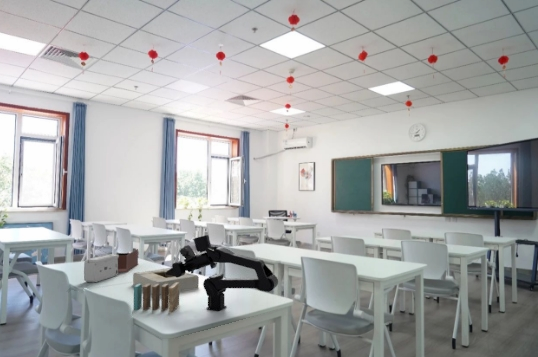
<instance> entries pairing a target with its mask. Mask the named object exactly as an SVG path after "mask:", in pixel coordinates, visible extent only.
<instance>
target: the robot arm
mask: <svg viewBox="0 0 538 357" xmlns="http://www.w3.org/2000/svg"><path fill="white" fill-rule="evenodd" d="M193 243H194V246H195V249H196V252H197V253H199V254H196V253H195V251H194V250H193V248H192V247H191V246H190V245H188V244H187V245H184V246H183V247H182V248H180V250H179V253H180V255H181V256H182V257H184V258H183V261H184V263H183V261H181V260H179V261H177V262H174V263H172V264H171V265H172V268H171V269H170V270H168V271H167V272H165V273H166V275H171V276H175V277H177V278H178V277H181V276H183V275H185V272H187V273H190V272H194V271H198V270H200V269H202V268H205V267H208V266H210V269H215V268H216V267H217V264H219V263H220V264H221V263H222V264H227V263H228V264H233V265H237V266H240V267H245V268H248V269H251V270H254V271H255V274H256V277H233V278H232V277H230V278H229V277H225V276H224V273H221V274H219V273H214V274H212V275H210V276H208V277H207V278H205V279H204V281H203V282H202V283H203V284H202V286H203V289H204V290H205V293H206V295H207V307H206V308H205V309H206V310H210V311H211V310H212V311H217V312H219V311H221V310H223V309H225V308H227V305H226V304H225V292H226V290H227V289H255V290H258V291H259V292H264V293H271V292H272V291H274V289H275V288H277V287H278V286H279V279H278V276H276V275H275V274H274V273H273V272H272V270H271V269H270V268H269V267H268V266H267V265H266V262H265V261H264V260H262V259H257V258H253V257H249V256H245V255H242V254H238V253H235V252H233V251H231V250H230V249H229V248H226V247H223V246H222V247H219V246H216V245H212V244H211V241H210V237H209V234H206V235H203V236H197V237H195V238H193ZM200 253H201V254H200Z"/></svg>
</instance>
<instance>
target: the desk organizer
mask: <svg viewBox="0 0 538 357" xmlns="http://www.w3.org/2000/svg"><path fill="white" fill-rule="evenodd" d="M115 254H116V255H119V258H118V273H117V274H120V273H121V274H122V273H124V274H125V273H129V272H130V271H131V270H133V269H134V268H135V267H137V266H139V249H138V248H137V249H135V250H133V251H131V252H130V253H129V252H126V253H125V252H124V253H123V252H120V253H119V252H118V253H117V252H116V253H115Z"/></svg>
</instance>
